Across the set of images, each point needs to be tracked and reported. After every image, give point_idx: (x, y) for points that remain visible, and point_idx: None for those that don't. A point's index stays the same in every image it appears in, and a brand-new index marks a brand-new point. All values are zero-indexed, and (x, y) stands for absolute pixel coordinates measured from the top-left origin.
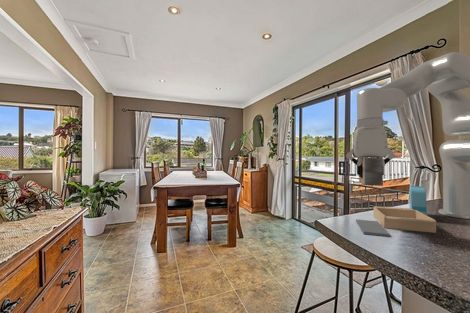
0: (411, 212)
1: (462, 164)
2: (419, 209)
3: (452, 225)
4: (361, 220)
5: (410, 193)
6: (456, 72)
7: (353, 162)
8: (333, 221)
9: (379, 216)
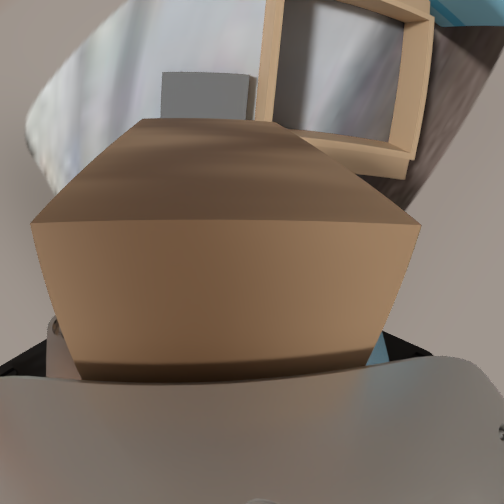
0: (412, 16)
1: None
2: (445, 14)
3: (468, 73)
4: (183, 82)
5: None
6: None
7: (24, 352)
8: (73, 107)
9: (265, 67)
